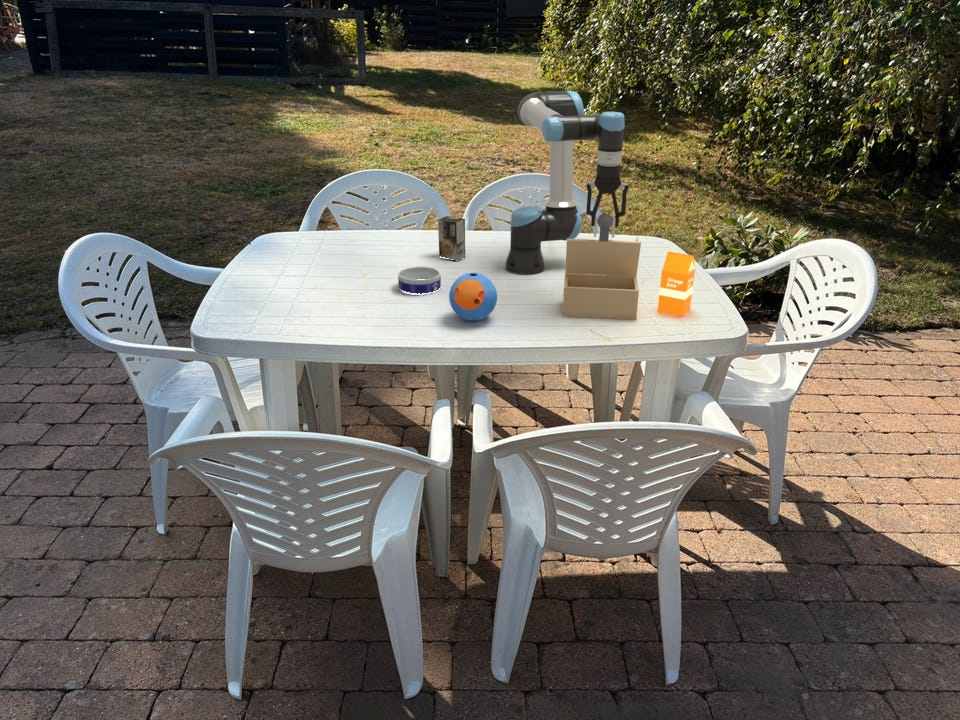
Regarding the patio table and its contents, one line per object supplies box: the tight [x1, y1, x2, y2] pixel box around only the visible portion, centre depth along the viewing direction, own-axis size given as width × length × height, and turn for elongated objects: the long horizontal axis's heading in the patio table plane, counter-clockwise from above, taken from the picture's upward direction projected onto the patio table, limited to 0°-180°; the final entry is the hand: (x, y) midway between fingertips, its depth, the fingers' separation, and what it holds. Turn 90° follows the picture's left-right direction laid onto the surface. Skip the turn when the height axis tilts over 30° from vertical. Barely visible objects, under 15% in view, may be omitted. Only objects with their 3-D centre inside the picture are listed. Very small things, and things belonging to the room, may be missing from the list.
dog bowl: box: [397, 266, 442, 294], centre depth 278 cm, size 15×15×6 cm
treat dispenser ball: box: [448, 272, 498, 322], centre depth 250 cm, size 16×15×15 cm
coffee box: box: [437, 215, 466, 262], centre depth 307 cm, size 9×6×16 cm
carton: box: [562, 273, 640, 321], centre depth 258 cm, size 24×14×10 cm, turn 83°
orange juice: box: [657, 250, 696, 317], centre depth 256 cm, size 8×9×20 cm
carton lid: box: [564, 212, 642, 277], centre depth 255 cm, size 24×24×5 cm
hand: (603, 236), depth 252 cm, fingers closed on carton lid, 5 cm apart
